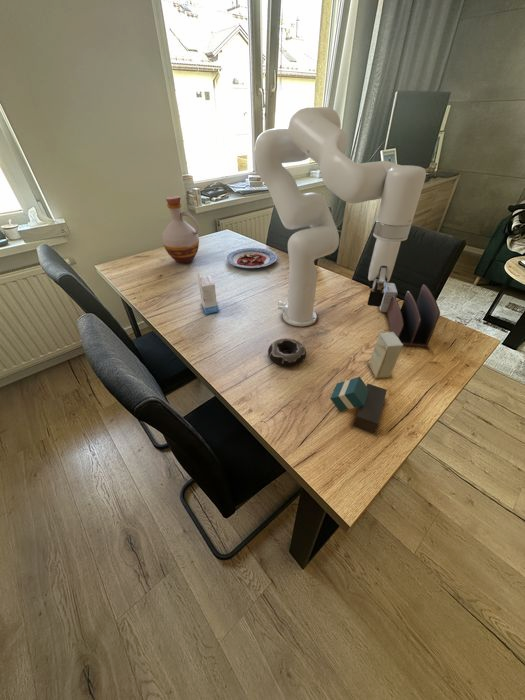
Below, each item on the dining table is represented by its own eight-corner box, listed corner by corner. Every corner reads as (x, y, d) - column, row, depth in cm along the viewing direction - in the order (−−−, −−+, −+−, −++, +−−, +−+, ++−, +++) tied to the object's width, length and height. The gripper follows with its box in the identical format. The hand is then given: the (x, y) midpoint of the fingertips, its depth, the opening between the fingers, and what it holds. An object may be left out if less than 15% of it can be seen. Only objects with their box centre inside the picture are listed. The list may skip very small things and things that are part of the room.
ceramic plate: (277, 271, 139) (277, 265, 137) (224, 271, 139) (223, 265, 137) (276, 251, 158) (276, 246, 156) (229, 251, 159) (229, 246, 157)
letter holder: (413, 315, 108) (427, 281, 99) (426, 348, 93) (444, 311, 84) (385, 313, 110) (396, 278, 101) (394, 344, 95) (408, 307, 86)
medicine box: (391, 313, 109) (398, 292, 104) (379, 312, 110) (385, 291, 105) (389, 302, 115) (395, 283, 110) (377, 301, 116) (383, 282, 111)
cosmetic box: (368, 364, 87) (378, 331, 80) (382, 363, 88) (393, 331, 80) (376, 378, 83) (387, 346, 75) (391, 377, 83) (404, 345, 75)
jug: (210, 255, 155) (202, 193, 135) (196, 269, 141) (186, 202, 122) (176, 252, 158) (164, 191, 139) (160, 265, 145) (144, 200, 126)
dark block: (353, 426, 70) (356, 415, 68) (364, 393, 78) (367, 383, 76) (374, 434, 68) (378, 424, 66) (383, 399, 77) (387, 389, 74)
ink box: (218, 312, 111) (214, 276, 101) (205, 314, 109) (200, 278, 100) (213, 301, 117) (209, 267, 107) (201, 304, 116) (195, 269, 106)
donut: (269, 344, 95) (269, 334, 93) (305, 346, 94) (306, 336, 92) (266, 368, 86) (266, 358, 84) (305, 371, 85) (306, 361, 83)
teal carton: (328, 406, 75) (333, 385, 70) (334, 391, 79) (340, 370, 74) (359, 418, 72) (366, 397, 67) (364, 401, 76) (372, 380, 71)
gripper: (375, 218, 73) (361, 281, 84) (373, 240, 60) (357, 310, 71) (407, 220, 71) (389, 284, 82) (411, 243, 58) (389, 315, 69)
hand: (374, 296), depth 76 cm, fingers open, 9 cm apart
